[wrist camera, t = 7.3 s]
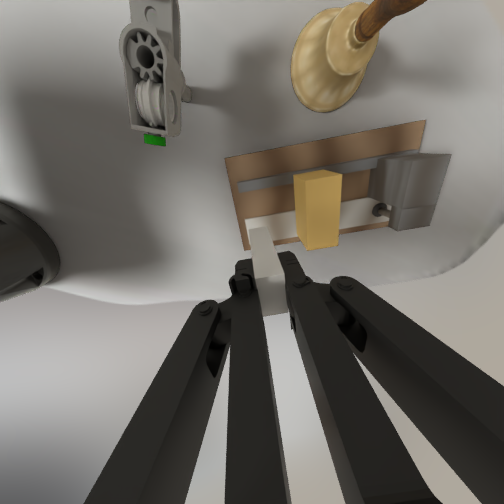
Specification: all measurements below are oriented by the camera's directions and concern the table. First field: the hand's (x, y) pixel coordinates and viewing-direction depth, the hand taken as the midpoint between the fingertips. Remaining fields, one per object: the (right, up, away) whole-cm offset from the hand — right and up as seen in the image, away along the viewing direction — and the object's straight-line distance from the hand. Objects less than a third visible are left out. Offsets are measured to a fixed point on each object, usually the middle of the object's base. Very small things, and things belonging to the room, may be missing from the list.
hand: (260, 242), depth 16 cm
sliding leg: (+7, +6, +10) cm, 13 cm away
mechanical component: (-8, +17, +6) cm, 20 cm away
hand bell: (+8, +20, +5) cm, 22 cm away
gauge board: (+9, +8, +11) cm, 16 cm away
